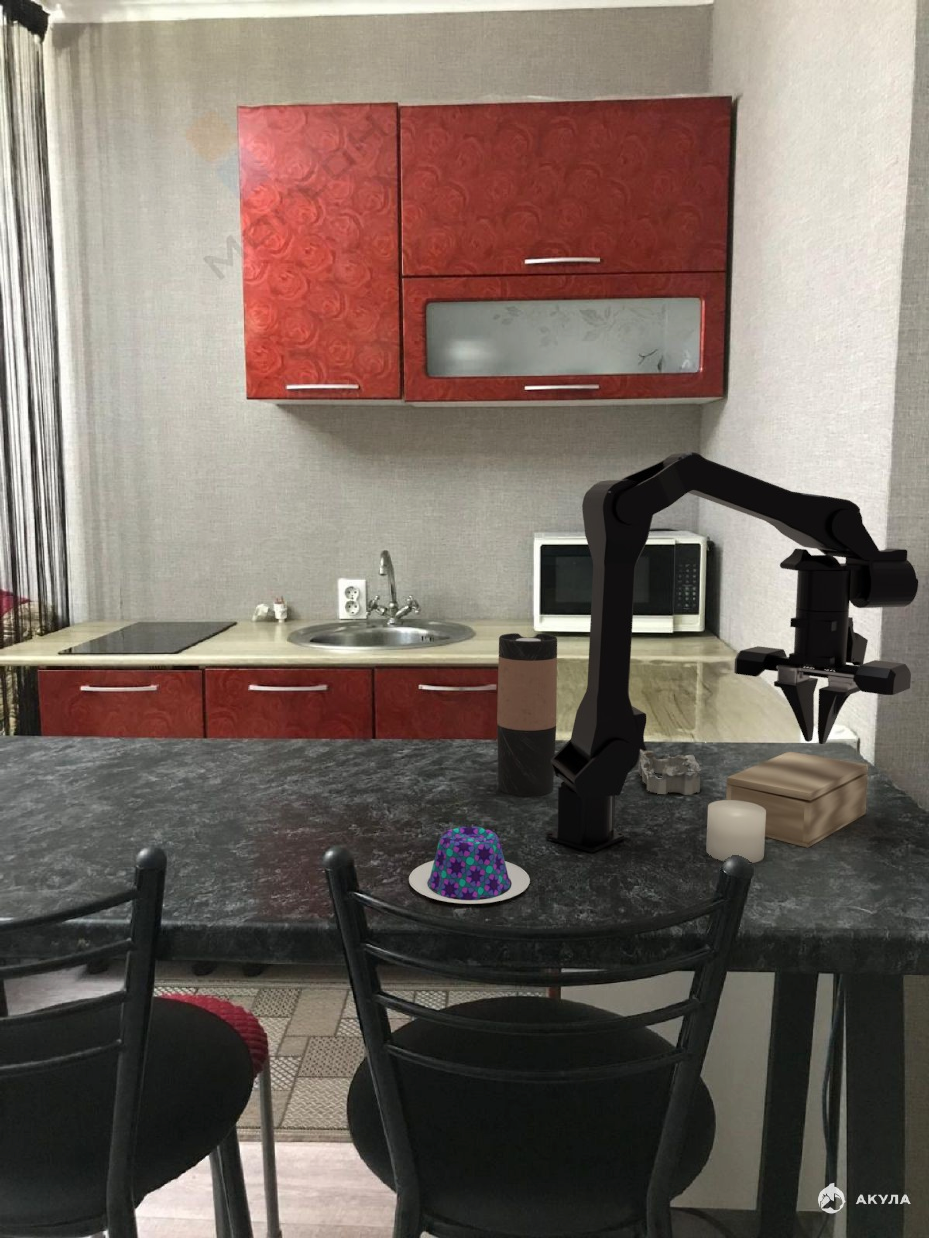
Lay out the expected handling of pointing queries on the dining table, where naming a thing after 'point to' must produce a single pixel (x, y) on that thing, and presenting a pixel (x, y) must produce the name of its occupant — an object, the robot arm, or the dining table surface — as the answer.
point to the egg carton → (670, 773)
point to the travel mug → (526, 713)
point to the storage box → (807, 811)
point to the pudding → (469, 869)
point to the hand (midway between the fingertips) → (815, 742)
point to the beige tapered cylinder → (736, 830)
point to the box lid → (798, 775)
